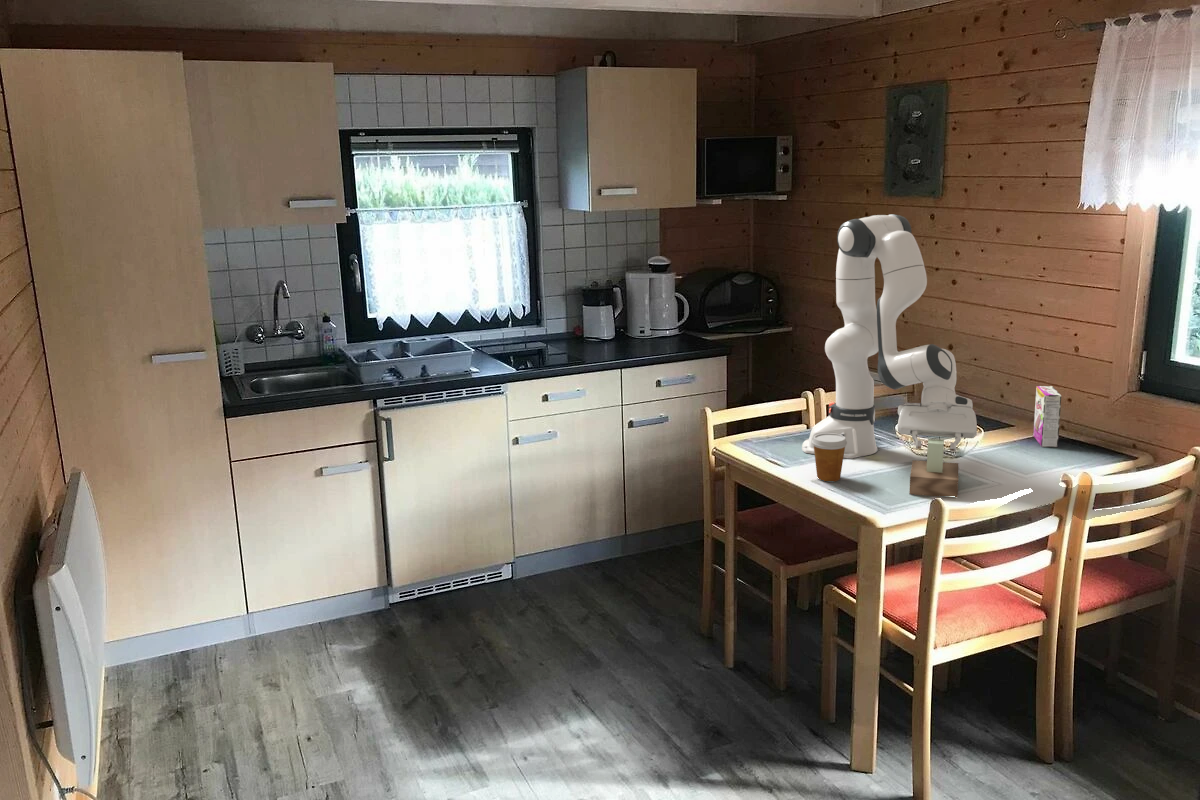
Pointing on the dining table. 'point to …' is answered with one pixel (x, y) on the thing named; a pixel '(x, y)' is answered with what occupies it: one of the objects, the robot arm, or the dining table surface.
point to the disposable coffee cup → (829, 455)
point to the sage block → (935, 455)
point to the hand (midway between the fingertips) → (935, 448)
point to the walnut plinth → (934, 480)
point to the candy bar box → (1047, 416)
